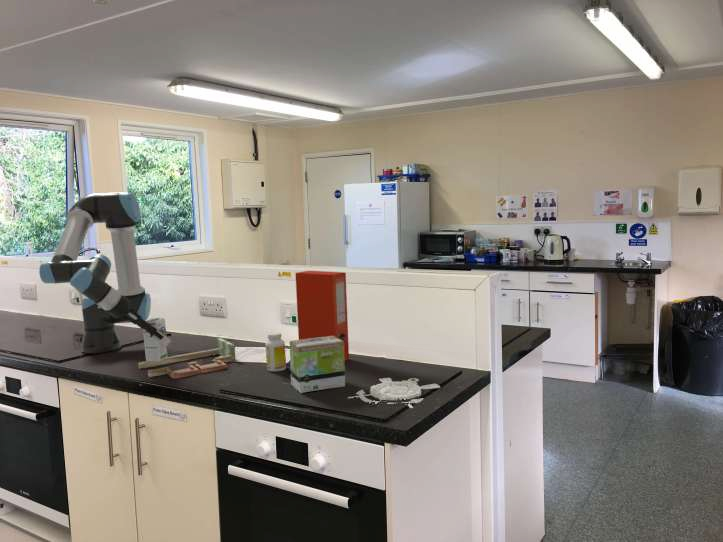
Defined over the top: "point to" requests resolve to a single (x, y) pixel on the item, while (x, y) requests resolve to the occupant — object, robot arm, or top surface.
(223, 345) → the channel
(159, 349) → the syrup box
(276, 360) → the supplement bottle
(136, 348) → the top surface
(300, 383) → the tea box
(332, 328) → the file binder
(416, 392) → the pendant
